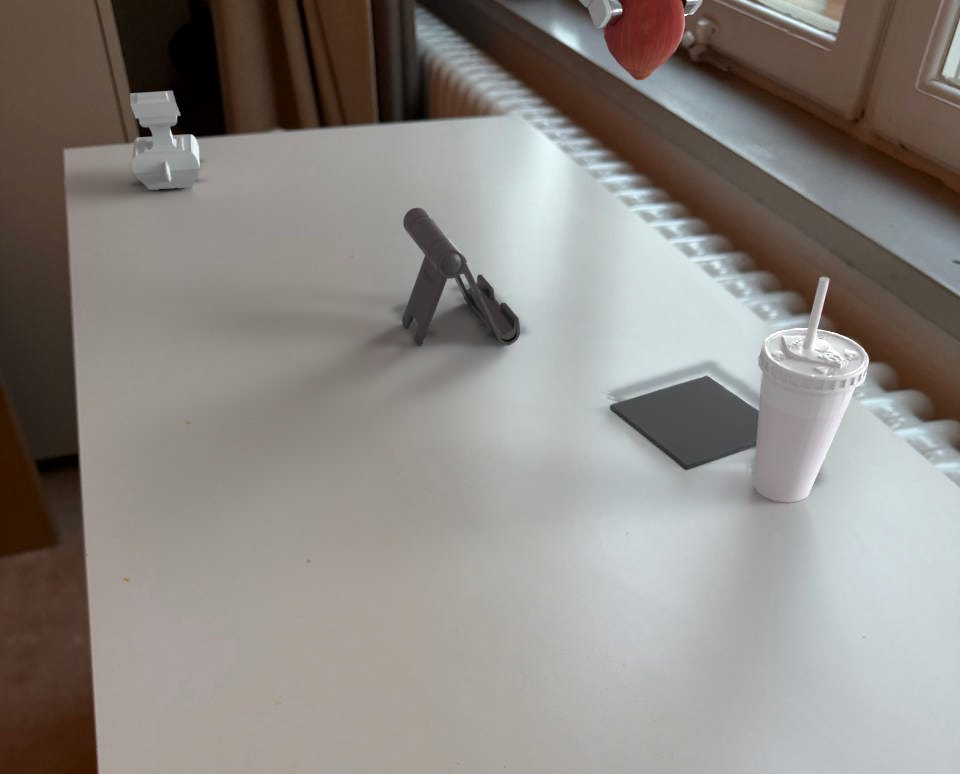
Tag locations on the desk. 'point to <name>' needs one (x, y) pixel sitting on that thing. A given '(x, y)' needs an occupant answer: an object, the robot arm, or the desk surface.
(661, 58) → the onion
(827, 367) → the smoothie
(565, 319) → the desk surface
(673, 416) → the coaster
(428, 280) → the tablet stand
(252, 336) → the desk surface
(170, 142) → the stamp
